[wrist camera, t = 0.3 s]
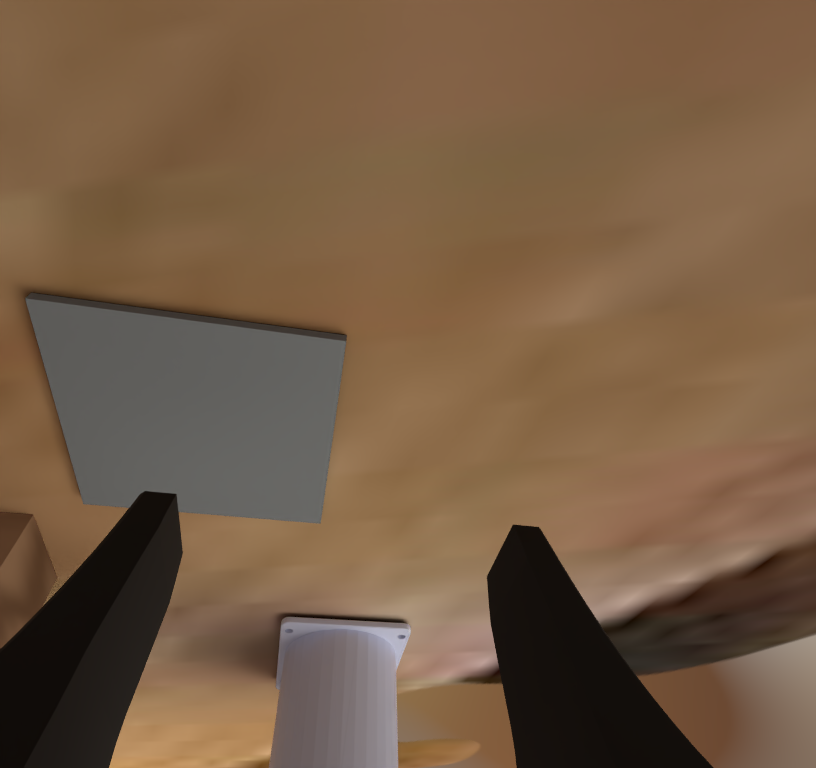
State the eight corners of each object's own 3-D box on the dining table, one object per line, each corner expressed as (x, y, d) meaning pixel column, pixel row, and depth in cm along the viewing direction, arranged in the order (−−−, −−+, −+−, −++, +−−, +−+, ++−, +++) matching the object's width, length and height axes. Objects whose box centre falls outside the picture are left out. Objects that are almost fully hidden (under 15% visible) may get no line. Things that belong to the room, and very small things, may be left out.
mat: (321, 516, 27) (320, 523, 26) (87, 497, 25) (83, 503, 25) (346, 335, 20) (346, 341, 20) (31, 292, 19) (25, 298, 18)
